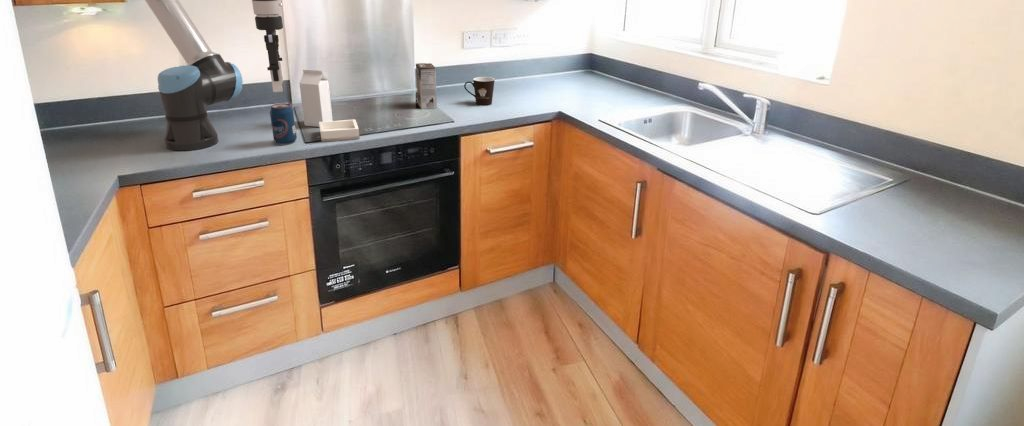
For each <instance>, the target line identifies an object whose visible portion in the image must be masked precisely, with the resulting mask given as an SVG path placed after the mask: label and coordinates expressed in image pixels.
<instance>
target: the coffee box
mask: <svg viewBox="0 0 1024 426" xmlns="http://www.w3.org/2000/svg"><path fill="white" fill-rule="evenodd" d="M436 70H437V69H436V66H434V65H433V63H431V62H429V63H423V62H422V63H421V62H419V63H415V74H416V75H415V76H416V87H417V88H416V90H417V92H416V93H417V104H418V107H420V109H421V110H429V109H437V105H438V104H437V75H436V74H437V71H436Z"/></svg>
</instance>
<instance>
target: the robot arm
mask: <svg viewBox="0 0 1024 426" xmlns="http://www.w3.org/2000/svg"><path fill="white" fill-rule="evenodd" d="M144 1H145V3H146V4H147V6H148V7H149V8H150V10H151V11H152V13H153V15H154V16H155V17H156V19H157V21H158V22H159V23H160V25H161V27H162V28H163V29H164V31H165V32H166V34H167V36H168V37H169V38H170V40H171V42H172V43H173V45H174V46H175V47H176V49H177V50H178V52H179V53H180V55H181V57H182V58H183V60H184V61H185V63H186V65H179V66H173V67H168V68H166V69H163V70H161V71H160V72H159V73H158V75H157V84H158V86H157V87H158V91H159V95H160V98H161V103H162V107H163V112H164V116H165V122H166V124H165V131H164V138H163V141H164V146H165V148H166V149H168V150H172V151H195V150H201V149H205V148H209V147H212V146H214V145H216V144H217V143H219V136H218V133H217V131H216V129H215V127H214V125H213V124H212V122H211V121H210V118H209V116H208V111H207V106H211V105H215V104H217V103H221V102H222V103H223V102H228V101H230V100H231V99H235V98H236V97H238V96H239V95H240V93H241V91H242V90H243V83H244V82H243V77H242V73H241V71H240V69H239V68H238V67H237V65H235V64H234V63H231V62H229V61H225V60H224V58H223V57H222V56H221V54H220V53H217V52H214V51H212V49H211V48H210V46H209V44H208V43H207V42H206V40H205V39H204V37H203V35H202V33H201V31H199V30H198V28H197V26H196V24H195V23H194V22H193V20H192V18H191V17H190V15H189V14H188V12H187V10H186V9H185V7H184V6H183V5H182V3H181V2H180V0H144ZM251 3H252V10H253V14H254V15H256V16H254V21H255V28H256V30H258V31H265V32H266V33H265V34H266V35H263V40H264V44H265V49H266V51H267V57H268V63H269V64H268V65H269V66H267V71H270V79H271V86H272V92H273V93H281V92H282V93H283V92H284V90H283V83H284V78H283V71H282V63H281V61H282V62H283V58H282V57H281V55H280V53H279V51H280V50H279V47H280V45H279V35H278V34H277V30H278V31H279V30H282V29H284V24H283V16H281V13H282V10H281V7H283V3H282V2H281V3H280V0H251Z"/></svg>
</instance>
